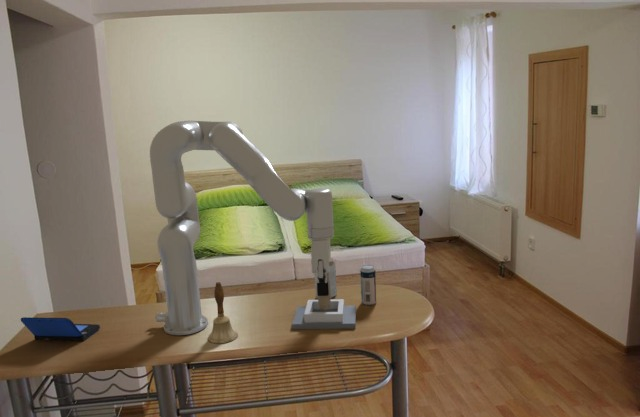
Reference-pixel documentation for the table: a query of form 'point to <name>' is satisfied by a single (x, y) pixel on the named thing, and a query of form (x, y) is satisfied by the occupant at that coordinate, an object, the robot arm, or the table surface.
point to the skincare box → (332, 280)
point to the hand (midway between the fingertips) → (323, 291)
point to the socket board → (325, 316)
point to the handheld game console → (59, 329)
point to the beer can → (368, 285)
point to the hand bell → (221, 321)
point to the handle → (325, 300)
